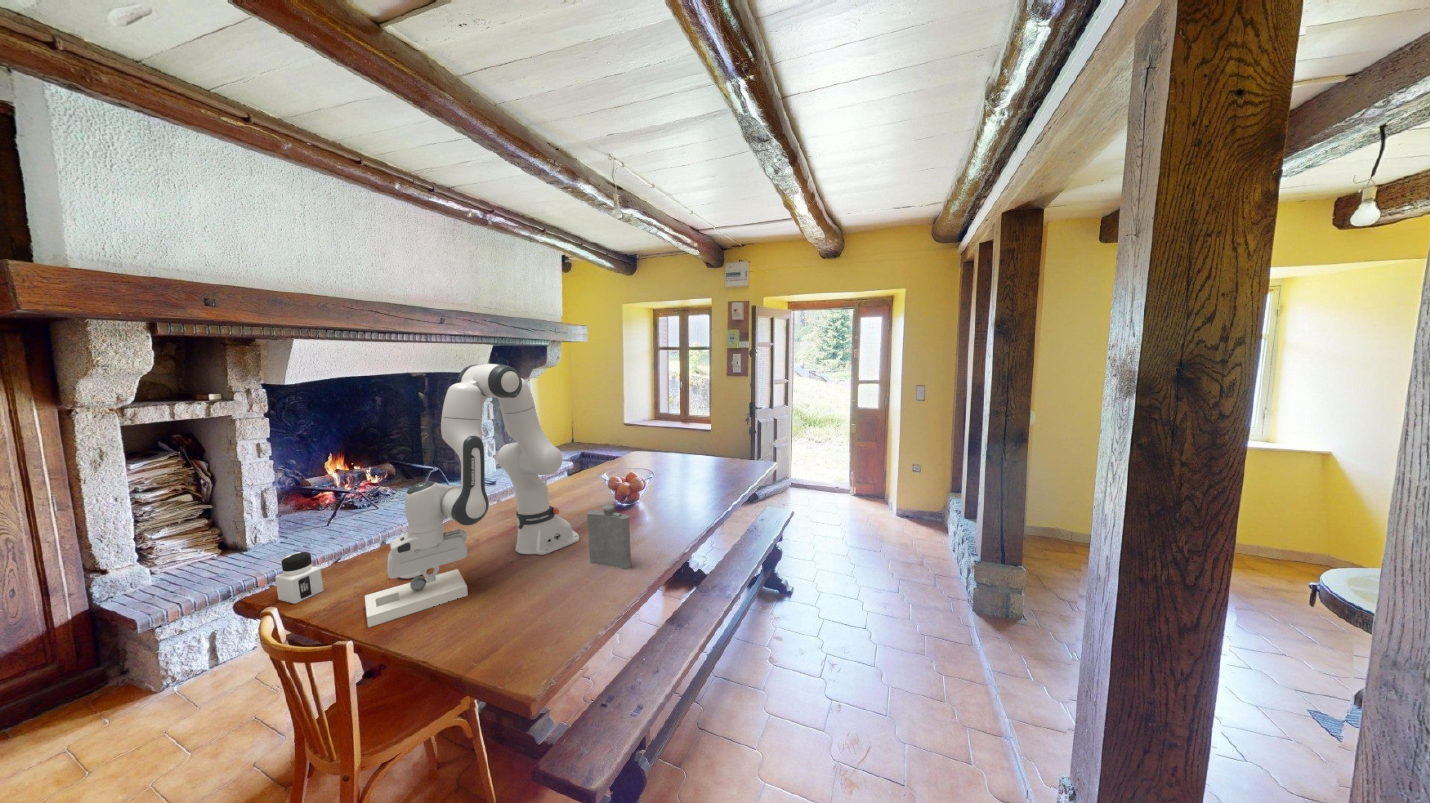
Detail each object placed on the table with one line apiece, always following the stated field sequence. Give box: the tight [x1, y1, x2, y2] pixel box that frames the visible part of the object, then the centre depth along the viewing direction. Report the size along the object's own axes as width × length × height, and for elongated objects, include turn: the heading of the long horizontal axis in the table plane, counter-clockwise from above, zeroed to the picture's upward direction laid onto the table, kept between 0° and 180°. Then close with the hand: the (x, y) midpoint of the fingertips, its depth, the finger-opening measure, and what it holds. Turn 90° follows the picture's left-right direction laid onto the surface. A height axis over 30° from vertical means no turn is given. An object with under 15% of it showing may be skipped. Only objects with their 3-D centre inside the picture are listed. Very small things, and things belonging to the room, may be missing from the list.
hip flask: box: [586, 504, 632, 570], centre depth 155 cm, size 16×4×20 cm, turn 69°
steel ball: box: [409, 576, 426, 591], centre depth 135 cm, size 4×4×4 cm
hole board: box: [364, 568, 469, 628], centre depth 135 cm, size 24×14×3 cm, turn 129°
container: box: [274, 551, 324, 605], centre depth 138 cm, size 8×8×13 cm
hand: (431, 581), depth 137 cm, fingers closed
